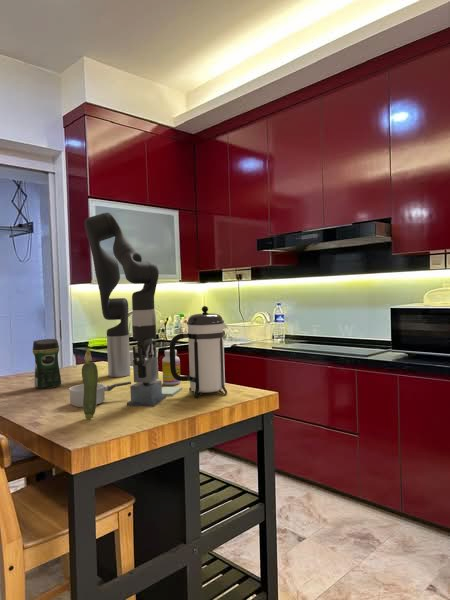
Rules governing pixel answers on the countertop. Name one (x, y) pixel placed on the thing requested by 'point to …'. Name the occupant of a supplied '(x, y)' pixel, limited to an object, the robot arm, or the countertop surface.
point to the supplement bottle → (167, 375)
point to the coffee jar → (46, 363)
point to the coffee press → (203, 353)
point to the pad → (170, 390)
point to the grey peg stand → (146, 394)
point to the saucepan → (78, 393)
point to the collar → (147, 371)
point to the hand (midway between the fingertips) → (146, 375)
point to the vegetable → (89, 385)
